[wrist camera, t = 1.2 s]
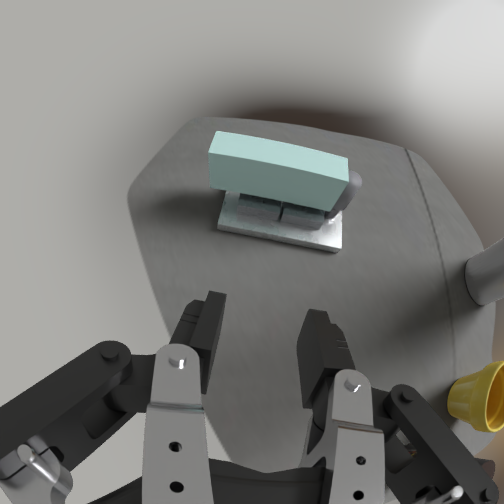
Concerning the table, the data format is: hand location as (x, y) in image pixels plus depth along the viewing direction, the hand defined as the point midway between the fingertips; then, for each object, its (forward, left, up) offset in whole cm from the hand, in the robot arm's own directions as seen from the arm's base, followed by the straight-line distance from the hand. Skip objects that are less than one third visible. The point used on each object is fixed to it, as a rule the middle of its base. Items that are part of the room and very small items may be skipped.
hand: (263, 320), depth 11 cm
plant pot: (-28, +23, -20) cm, 41 cm away
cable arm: (-11, -16, -16) cm, 25 cm away
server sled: (-12, -15, -20) cm, 28 cm away
